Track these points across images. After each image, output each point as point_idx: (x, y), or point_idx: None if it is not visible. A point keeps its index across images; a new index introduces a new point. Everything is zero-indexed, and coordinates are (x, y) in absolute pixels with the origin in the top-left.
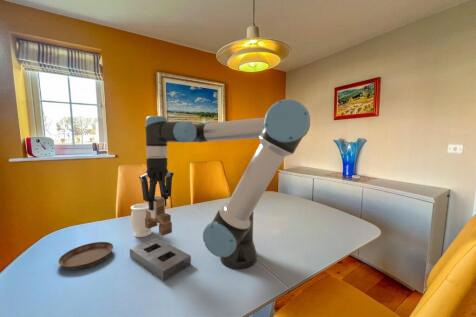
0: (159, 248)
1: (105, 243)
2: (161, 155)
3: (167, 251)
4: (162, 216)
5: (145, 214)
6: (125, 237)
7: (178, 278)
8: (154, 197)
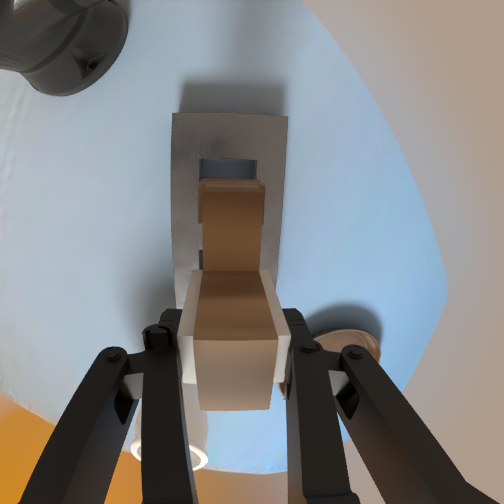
0: None
1: (282, 390)
2: None
3: None
4: (256, 214)
5: None
6: None
7: (247, 94)
8: (296, 367)
